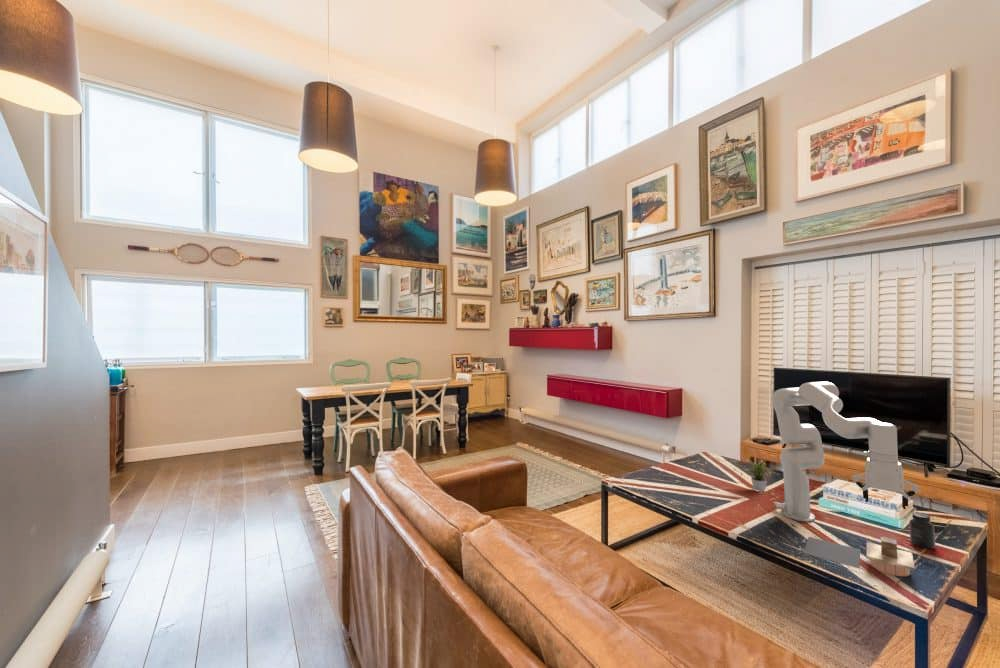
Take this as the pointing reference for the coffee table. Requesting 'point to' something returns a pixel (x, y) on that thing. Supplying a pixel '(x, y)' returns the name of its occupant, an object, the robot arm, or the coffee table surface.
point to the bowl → (890, 568)
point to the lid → (890, 553)
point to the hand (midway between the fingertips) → (885, 504)
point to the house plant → (758, 476)
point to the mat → (833, 552)
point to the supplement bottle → (922, 531)
